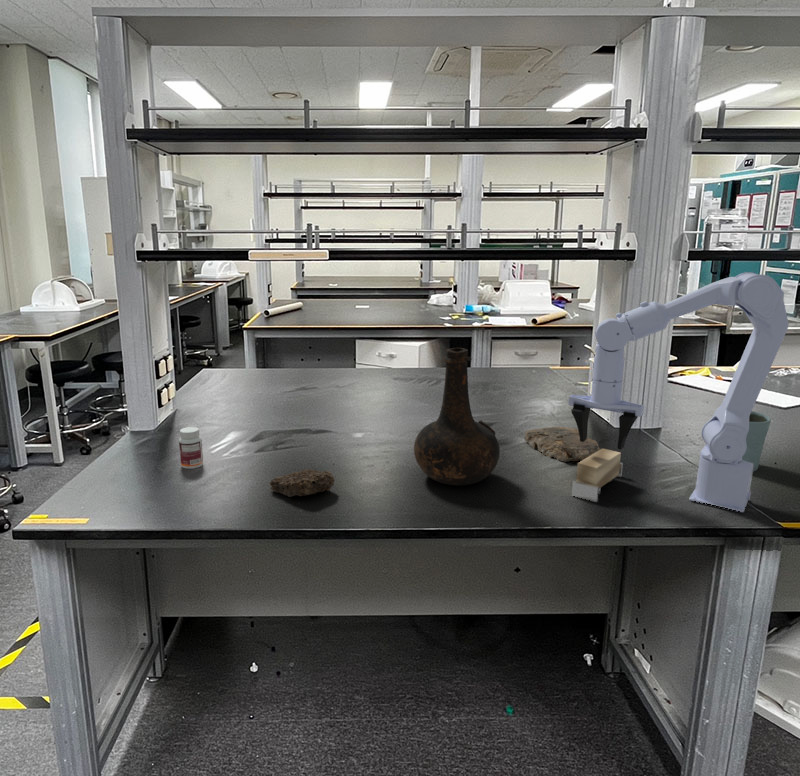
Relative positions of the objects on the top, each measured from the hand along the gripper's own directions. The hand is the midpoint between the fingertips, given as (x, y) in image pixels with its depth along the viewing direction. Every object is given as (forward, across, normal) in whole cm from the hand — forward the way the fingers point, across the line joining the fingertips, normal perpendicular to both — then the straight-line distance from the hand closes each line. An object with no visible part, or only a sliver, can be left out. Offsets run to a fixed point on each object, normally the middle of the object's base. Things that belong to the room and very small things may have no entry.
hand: (601, 444), depth 124 cm
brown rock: (+9, +47, +39) cm, 62 cm away
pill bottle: (+9, +77, +43) cm, 89 cm away
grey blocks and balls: (+9, 0, 0) cm, 9 cm away
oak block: (+8, 0, 0) cm, 8 cm away
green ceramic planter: (+10, -22, -31) cm, 39 cm away
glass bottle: (+9, +26, +14) cm, 31 cm away
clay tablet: (+10, +13, -16) cm, 23 cm away
